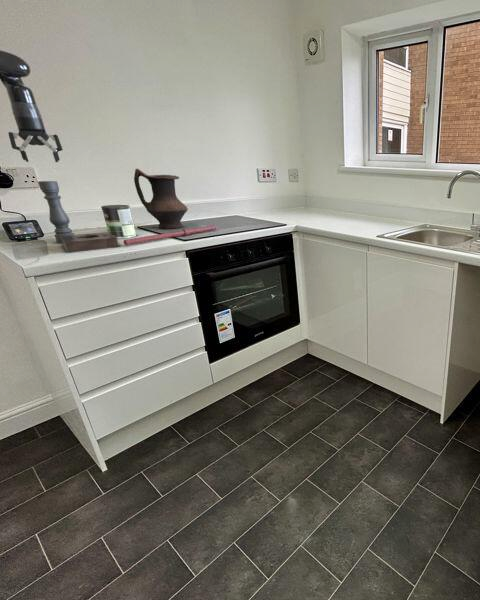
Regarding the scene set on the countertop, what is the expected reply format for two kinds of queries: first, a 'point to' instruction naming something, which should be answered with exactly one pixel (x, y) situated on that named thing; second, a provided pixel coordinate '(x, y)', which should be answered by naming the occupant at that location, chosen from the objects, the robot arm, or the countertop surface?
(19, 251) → the countertop surface
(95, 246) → the stand
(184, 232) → the red rod
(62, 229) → the candle holder
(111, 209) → the coffee can
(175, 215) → the jug
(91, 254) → the countertop surface
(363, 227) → the countertop surface
